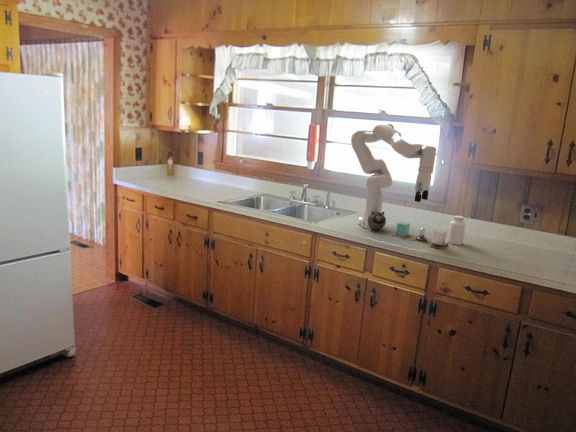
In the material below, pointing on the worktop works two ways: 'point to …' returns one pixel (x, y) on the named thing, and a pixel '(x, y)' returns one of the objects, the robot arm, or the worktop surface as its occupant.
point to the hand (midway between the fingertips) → (420, 200)
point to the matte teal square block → (402, 229)
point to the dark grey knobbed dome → (421, 235)
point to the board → (413, 238)
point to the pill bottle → (456, 230)
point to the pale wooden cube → (438, 238)
